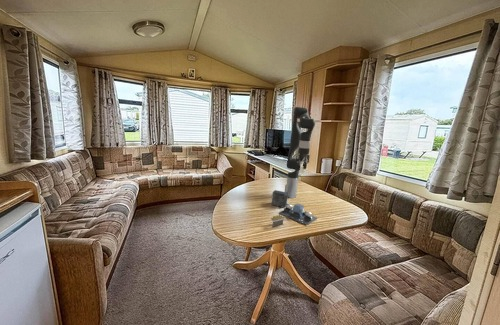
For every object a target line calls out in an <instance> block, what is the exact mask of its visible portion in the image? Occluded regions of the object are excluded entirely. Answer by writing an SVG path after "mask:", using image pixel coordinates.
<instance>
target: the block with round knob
mask: <svg viewBox="0 0 500 325" xmlns="http://www.w3.org/2000/svg"><path fill="white" fill-rule="evenodd" d="M293 206H294V207H293V209H294V213H295V214H297V215H300V216H302V215H303V212H305V205H303V204H301V203H295V204H294V205H293Z"/></svg>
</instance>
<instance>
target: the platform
mask: <svg viewBox="0 0 500 325" xmlns="http://www.w3.org/2000/svg"><path fill="white" fill-rule="evenodd" d="M284 220H286V216H283V215H281V214H279V215H278V214H277V215H273V216H272V217H271V218H270V221H271V222H272V228H274V227H278V226H283V225H284Z"/></svg>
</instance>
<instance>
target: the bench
mask: <svg viewBox="0 0 500 325" xmlns="http://www.w3.org/2000/svg"><path fill="white" fill-rule="evenodd" d="M293 207H294V205H291V204H288V203H287V204H286V206H285V208H283V210H280V211H279V212H278V213H279V215H281V216H283V217H285V218H288V219H290V220H293V221H295V222H297V223H300V224H302V225H304V226H308V225H309V224H312V222H315V221H317V219H318V217H317V216H314V214H313V213H312V212H310V211H307V210H304V212H303V215H302V216H300V215H297V214H295V213H294V209H293Z"/></svg>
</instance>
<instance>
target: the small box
mask: <svg viewBox="0 0 500 325" xmlns="http://www.w3.org/2000/svg"><path fill="white" fill-rule="evenodd" d="M271 196H272V198H271V206H275V207H279V208H283V209H284V208H286V207H285V206H286V204H288V197H287V196H288V193H287V192H285V191H281V190H276V189H275V190H274V191H273V192H272V195H271Z"/></svg>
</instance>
